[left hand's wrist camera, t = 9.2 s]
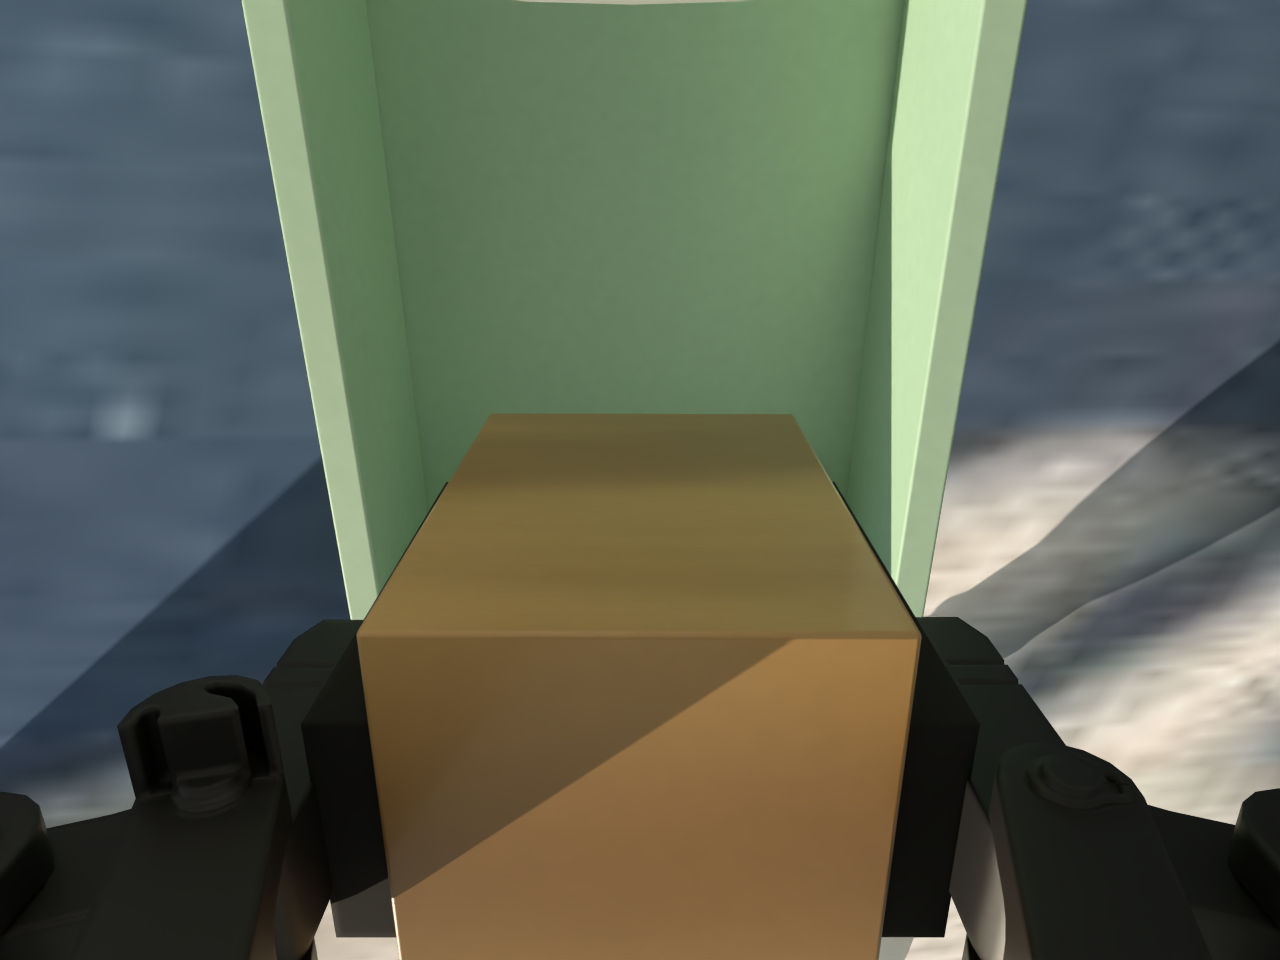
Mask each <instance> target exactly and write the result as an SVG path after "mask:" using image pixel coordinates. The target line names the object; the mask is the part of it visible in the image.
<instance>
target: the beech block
mask: <svg viewBox="0 0 1280 960" xmlns="http://www.w3.org/2000/svg"><path fill="white" fill-rule="evenodd" d="M356 636H357V643H358V651H359V658H360V666H361V673H362V681H363V689H364V696H365V704H366V711H367V719H368V726H369V734H370V742H371V749H372V757H373V764H374V772H375V779H376V787H377V794H378V802H379V810H380V817H381V825H382V832H383V840H384V847H385V855H386V863H387V870H388V878H389V885H390V893H391V900H392V908H393V915H394V923H395V931H396V938H397V946H398V953H399V960H879V954H880V946H881V939H882V931H883V924H884V916H885V909H886V901H887V894H888V886H889V879H890V871H891V864H892V856H893V849H894V841H895V834H896V826H897V819H898V811H899V804H900V796H901V788H902V781H903V773H904V766H905V758H906V751H907V743H908V736H909V728H910V721H911V713H912V706H913V698H914V691H915V683H916V676H917V668H918V661H919V653H920V646H921V638H922V636H921V633H920V631H919V629H918V628H917V626H916V624H915V623H914V621H913V619H912V618H911V616H910V614H909V612H908V611H907V609H906V607H905V606H904V604H903V602H902V600H901V599H900V597H899V595H898V594H897V592H896V590H895V589H894V587H893V585H892V583H891V582H890V580H889V578H888V577H887V575H886V573H885V571H884V570H883V568H882V566H881V565H880V563H879V561H878V560H877V558H876V556H875V554H874V553H873V551H872V549H871V548H870V546H869V544H868V542H867V541H866V539H865V537H864V536H863V534H862V532H861V531H860V529H859V527H858V525H857V524H856V522H855V520H854V519H853V517H852V515H851V513H850V512H849V510H848V508H847V507H846V505H845V503H844V502H843V500H842V498H841V496H840V495H839V493H838V491H837V490H836V488H835V486H834V484H833V483H832V481H831V479H830V478H829V476H828V474H827V473H826V471H825V469H824V467H823V466H822V464H821V462H820V461H819V459H818V457H817V455H816V454H815V452H814V450H813V449H812V447H811V445H810V444H809V442H808V440H807V438H806V437H805V435H804V433H803V432H802V430H801V428H800V426H799V425H798V423H797V421H796V420H795V418H794V416H793V415H791V414H490V415H489V417H488V419H487V420H486V422H485V424H484V425H483V427H482V428H481V430H480V432H479V433H478V435H477V437H476V438H475V440H474V442H473V443H472V445H471V446H470V448H469V450H468V451H467V453H466V455H465V456H464V458H463V460H462V461H461V463H460V464H459V466H458V468H457V469H456V471H455V473H454V474H453V476H452V478H451V479H450V481H449V482H448V484H447V486H446V487H445V489H444V491H443V492H442V494H441V496H440V497H439V499H438V500H437V502H436V504H435V505H434V507H433V509H432V510H431V512H430V514H429V515H428V517H427V518H426V520H425V522H424V523H423V525H422V527H421V528H420V530H419V531H418V533H417V535H416V536H415V538H414V540H413V541H412V543H411V545H410V546H409V548H408V549H407V551H406V553H405V554H404V556H403V558H402V559H401V561H400V563H399V564H398V566H397V567H396V569H395V571H394V572H393V574H392V576H391V577H390V579H389V581H388V582H387V584H386V585H385V587H384V589H383V590H382V592H381V594H380V595H379V597H378V599H377V600H376V602H375V603H374V605H373V607H372V608H371V610H370V612H369V613H368V615H367V617H366V618H365V620H364V621H363V623H362V625H361V626H360V628H359V630H358V632H357V635H356Z"/></svg>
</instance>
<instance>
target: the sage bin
mask: <svg viewBox="0 0 1280 960" xmlns="http://www.w3.org/2000/svg"><path fill="white" fill-rule="evenodd" d="M242 5H243V11H244V16H245V22H246V28H247V33H248V39H249V45H250V50H251V56H252V62H253V67H254V73H255V79H256V84H257V90H258V96H259V101H260V107H261V113H262V118H263V124H264V130H265V135H266V141H267V147H268V152H269V158H270V164H271V169H272V175H273V181H274V186H275V192H276V198H277V203H278V209H279V215H280V220H281V226H282V232H283V238H284V243H285V249H286V255H287V260H288V266H289V272H290V277H291V283H292V289H293V294H294V300H295V306H296V311H297V317H298V323H299V328H300V334H301V340H302V345H303V351H304V357H305V362H306V368H307V374H308V379H309V385H310V391H311V396H312V402H313V408H314V413H315V419H316V425H317V430H318V436H319V442H320V447H321V453H322V459H323V464H324V470H325V476H326V481H327V487H328V493H329V498H330V504H331V510H332V515H333V521H334V527H335V532H336V538H337V544H338V550H339V555H340V561H341V567H342V572H343V578H344V584H345V589H346V595H347V601H348V606H349V612H350V618H351V620H364V618H365V617H366V615H367V613H368V612H369V610H370V608H371V607H372V605H373V603H374V602H375V600H376V598H377V597H378V595H379V593H380V592H381V590H382V588H383V587H384V585H385V583H386V582H387V580H388V578H389V577H390V575H391V573H392V572H393V570H394V568H395V567H396V565H397V563H398V562H399V560H400V558H401V557H402V555H403V553H404V552H405V550H406V548H407V547H408V545H409V543H410V542H411V540H412V538H413V537H414V535H415V533H416V532H417V530H418V528H419V527H420V525H421V523H422V522H423V520H424V518H425V517H426V515H427V513H428V512H429V510H430V508H431V507H432V505H433V503H434V502H435V500H436V498H437V497H438V495H439V493H440V492H441V490H442V488H443V487H444V485H445V483H446V482H449V481H450V479H451V478H452V476H453V474H454V473H455V471H456V469H457V468H458V466H459V464H460V463H461V461H462V460H463V458H464V456H465V455H466V453H467V451H468V450H469V448H470V446H471V445H472V443H473V442H474V440H475V438H476V437H477V435H478V433H479V432H480V430H481V428H482V427H483V425H484V424H485V422H486V420H487V419H488V417H489V415H490V414H791V415H793V416H794V418H795V420H796V421H797V423H798V425H799V426H800V428H801V430H802V432H803V433H804V435H805V437H806V438H807V440H808V442H809V444H810V445H811V447H812V449H813V450H814V452H815V454H816V455H817V457H818V459H819V461H820V462H821V464H822V466H823V467H824V469H825V471H826V473H827V474H828V476H829V478H830V479H831V481H832V482H835V484H836V485H837V487H838V489H839V490H840V492H841V494H842V495H843V497H844V499H845V500H846V502H847V504H848V505H849V507H850V509H851V510H852V512H853V514H854V515H855V517H856V519H857V520H858V522H859V524H860V525H861V527H862V529H863V530H864V532H865V534H866V535H867V537H868V539H869V540H870V542H871V544H872V545H873V547H874V549H875V550H876V552H877V554H878V555H879V557H880V559H881V560H882V562H883V564H884V565H885V567H886V569H887V570H888V572H889V574H890V575H891V577H892V579H893V580H894V582H895V584H896V585H897V587H898V589H899V590H900V592H901V594H902V595H903V597H904V599H905V600H906V602H907V604H908V605H909V607H910V609H911V610H912V612H913V614H914V615H915V617H923V614H924V608H925V602H926V596H927V590H928V584H929V578H930V573H931V567H932V561H933V555H934V549H935V543H936V537H937V531H938V525H939V519H940V513H941V508H942V502H943V496H944V490H945V484H946V478H947V472H948V466H949V460H950V454H951V448H952V443H953V437H954V431H955V425H956V419H957V413H958V407H959V401H960V395H961V389H962V383H963V378H964V372H965V366H966V360H967V354H968V348H969V342H970V336H971V330H972V324H973V318H974V312H975V307H976V301H977V295H978V289H979V283H980V277H981V271H982V265H983V259H984V253H985V247H986V242H987V236H988V230H989V224H990V218H991V212H992V206H993V200H994V194H995V188H996V182H997V177H998V171H999V165H1000V159H1001V153H1002V147H1003V141H1004V135H1005V129H1006V123H1007V117H1008V112H1009V106H1010V100H1011V94H1012V88H1013V82H1014V76H1015V70H1016V64H1017V58H1018V52H1019V47H1020V41H1021V35H1022V29H1023V23H1024V17H1025V11H1026V5H1027V0H748V1H738V2H705V3H672V4H638V5H629V4H592V3H555V2H527V1H516V0H242Z"/></svg>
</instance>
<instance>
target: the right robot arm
mask: <svg viewBox="0 0 1280 960" xmlns="http://www.w3.org/2000/svg"><path fill="white" fill-rule="evenodd" d="M516 1H527V2H555V3H592V4H629V5H638V4H672V3H705V2H738V1H748V0H516Z"/></svg>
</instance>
